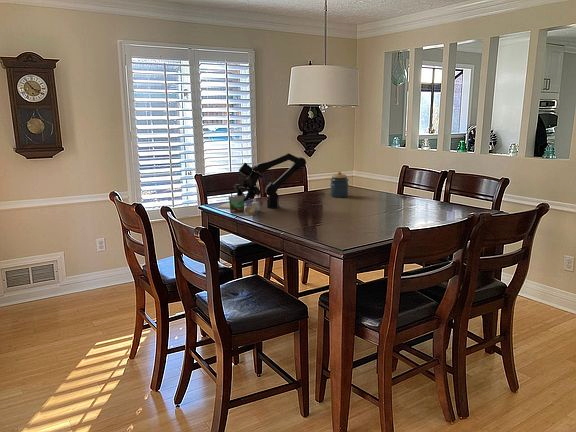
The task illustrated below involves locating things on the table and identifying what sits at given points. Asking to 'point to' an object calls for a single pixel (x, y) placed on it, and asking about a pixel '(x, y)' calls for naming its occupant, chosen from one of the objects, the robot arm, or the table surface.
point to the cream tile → (226, 206)
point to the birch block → (249, 210)
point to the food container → (237, 203)
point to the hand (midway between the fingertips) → (240, 200)
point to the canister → (339, 185)
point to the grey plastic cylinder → (255, 205)
